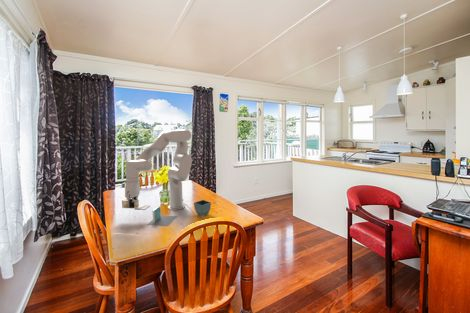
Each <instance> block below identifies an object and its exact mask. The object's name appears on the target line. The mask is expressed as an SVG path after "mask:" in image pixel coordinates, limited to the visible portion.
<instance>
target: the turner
mask: <svg viewBox="0 0 470 313" xmlns="http://www.w3.org/2000/svg"><path fill="white" fill-rule="evenodd" d="M126 199H127V198H125V199H122V200H121V208H122V209H130V208H129V201H128V200H126ZM149 208H151V205H149V204H148V205H146V204H145V205H144V204H139V199H138V200H134V208H133V209H134V210H135V211H136V210H137V211H146V210H148V209H149Z"/></svg>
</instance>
